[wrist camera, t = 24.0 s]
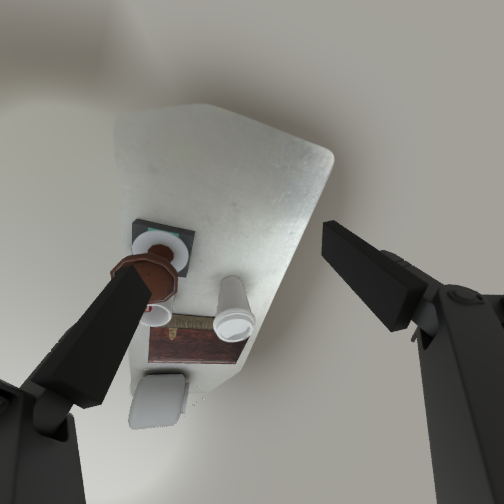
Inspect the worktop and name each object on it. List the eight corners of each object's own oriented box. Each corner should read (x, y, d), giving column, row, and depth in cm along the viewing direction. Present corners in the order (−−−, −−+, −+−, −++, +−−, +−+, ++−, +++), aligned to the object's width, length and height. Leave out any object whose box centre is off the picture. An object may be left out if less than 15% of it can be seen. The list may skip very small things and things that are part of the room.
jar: (140, 371, 58) (213, 386, 63) (152, 355, 72) (211, 368, 77) (112, 440, 53) (194, 450, 58) (131, 408, 67) (195, 418, 72)
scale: (136, 218, 38) (130, 224, 35) (194, 231, 41) (193, 237, 39) (136, 264, 43) (130, 271, 41) (187, 272, 47) (185, 279, 44)
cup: (137, 275, 45) (122, 298, 38) (169, 270, 46) (160, 292, 39) (153, 304, 51) (142, 329, 44) (181, 300, 51) (175, 323, 45)
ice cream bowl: (156, 280, 43) (129, 337, 30) (121, 244, 37) (70, 296, 24) (195, 263, 42) (184, 315, 29) (165, 224, 36) (136, 267, 24)
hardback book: (152, 349, 61) (147, 364, 56) (156, 311, 52) (150, 326, 48) (234, 352, 69) (235, 365, 65) (249, 320, 60) (251, 333, 56)
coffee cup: (221, 300, 54) (222, 348, 41) (209, 277, 49) (205, 324, 36) (251, 291, 54) (261, 336, 41) (242, 267, 48) (250, 310, 36)
